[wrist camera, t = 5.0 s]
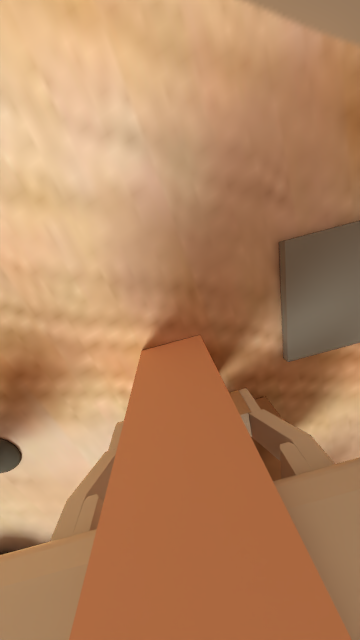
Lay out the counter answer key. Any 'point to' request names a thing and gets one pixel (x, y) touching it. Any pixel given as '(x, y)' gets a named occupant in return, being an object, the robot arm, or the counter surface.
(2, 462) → the sundae
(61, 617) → the robot arm
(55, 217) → the counter surface
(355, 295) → the grey mat
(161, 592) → the terracotta pillar
